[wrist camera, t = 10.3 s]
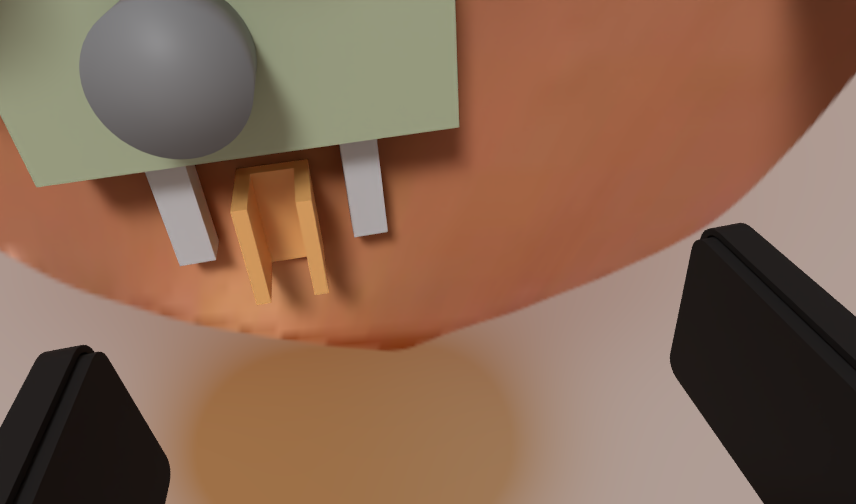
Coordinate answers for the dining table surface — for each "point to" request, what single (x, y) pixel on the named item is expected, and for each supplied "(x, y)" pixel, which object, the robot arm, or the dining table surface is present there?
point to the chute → (277, 223)
